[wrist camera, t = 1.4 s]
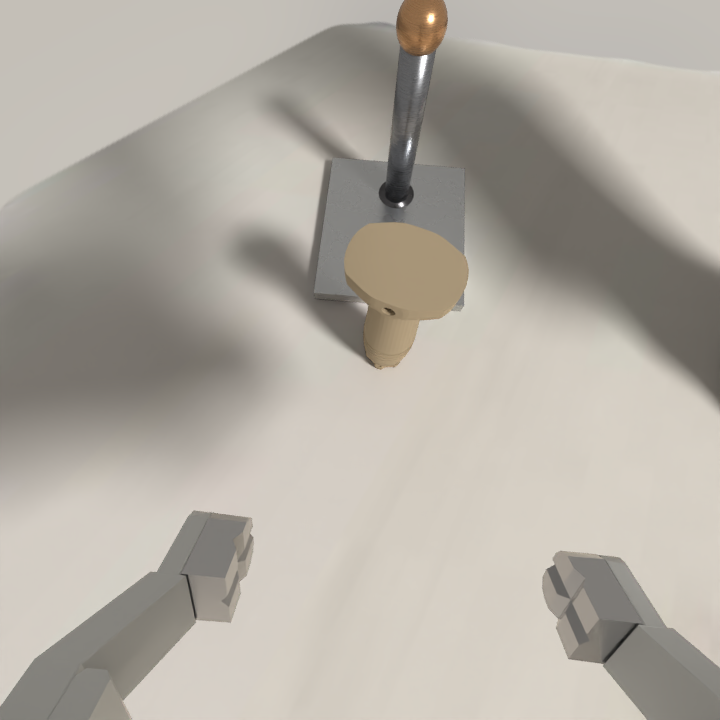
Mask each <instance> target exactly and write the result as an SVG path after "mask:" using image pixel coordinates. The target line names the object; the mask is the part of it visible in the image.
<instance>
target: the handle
mask: <svg viewBox="0 0 720 720" xmlns="http://www.w3.org/2000/svg"><path fill="white" fill-rule="evenodd" d="M344 269H345V278H346V282H347V285H348V286H349V287H350V288H351V289H352V290H353V291H354V292H355V293H356V294H357V295H358V296H359V297H360V298H361V299H362V300H363V301H364V302H365V303H367V304H368V305H369V307H368V311H367V315H366V319H365V324H364V331H363V340H364V347H365V352H366V356H367V357H368V358H370V360H371V361H372V362H373V363H374V366H375V368H377V369H380V370H381V369H383V368H385V367H395V366H397V365H398V364H399V363H400V361H401V360H402V359H403V358H404V357H405V356H406V354H407V353H408V351H409V350H410V348H411V346H412V344H413V342H414V339H415V336H416V332H417V328H418V325H419V321H420V320H431V319H439V318H442V317H443V316H445V315H446V314H447V313H448V312H450V311H451V310H452V309H453V307H454V306H455V305H456V303H457V302H458V300H459V299H460V297H461V296H462V294H463V292H464V289H465V287H466V284H467V280H468V271H469V269H468V264H467V260H466V257H465V256H464V255H463V254H462V253H461V252H460V251H458V250H457V249H456V248H455V247H454V246H453V245H452V244H450V243H449V242H448V241H447V240H446V239H444V238H443V237H441V236H440V235H438V234H436V233H434V232H431V231H429V230H426V229H423V228H420V227H417V226H414V225H410V224H406V223H398V222H387V223H369V224H367V225H366V226H364V227H363V228H361V229H360V230H359V231H357V233H356V234H355V235H354V236H353V237H352V239H351V241H350V243H349V244H348V247H347V249H346V252H345V257H344Z"/></svg>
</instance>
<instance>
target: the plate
mask: <svg viewBox="0 0 720 720" xmlns="http://www.w3.org/2000/svg"><path fill="white" fill-rule="evenodd" d="M387 166H388V162H381V161H369V160H357V159H345V158H333V160H332V167H331V174H330V181H329V188H328V195H327V202H326V209H325V216H324V223H323V230H322V237H321V244H320V251H319V258H318V265H317V272H316V279H315V286H314V297H315V299H326V300H337V301H349V302H360V303H365V302H364V301H363V300H362V299H361V298H360V297H359V296H358V295H357V294H356V293H355V292H354V291H353V290H352V289H351V288H350V287H349V286H348V285H347V282H346V278H345V269H344V257H345V252H346V249H347V247H348V244H349V243H350V241H351V239H352V237H353V236H354V235H355V234H356V233H357V231H359V230H360V229H361V228H363V227H364V226H366V225H367V224H369V223H387V222H398V223H406V224H410V225H414V226H417V227H420V228H423V229H426V230H429V231H431V232H434V233H436V234H438V235H440V236H441V237H443V238H444V239H446V240H447V241H448V242H449V243H450V244H452V245H453V246H454V247H455V248H456V249H457V250H458V251H460V252H461V253H462V254H463V255H464V192H465V168H454V167H442V166H430V165H418V164H414V166H413V171H412V177H411V182H410V187H409V192H408V197H407V198H406V200H404V201H403V202H400V203H394V202H391V201H389V200H388V199H387V198H386V196H385V185H386V175H387ZM463 306H464V292H463V294H462V296H461V297H460V299H459V300H458V302H457V303H456V305H455V306H454V307H453V309H452V310H451V311H461V309H462V308H463Z"/></svg>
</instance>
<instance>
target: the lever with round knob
mask: <svg viewBox="0 0 720 720" xmlns="http://www.w3.org/2000/svg"><path fill="white" fill-rule="evenodd" d="M447 21H448V18H447V9H446V5H445V3H444V1H443V0H404V2H403V3H402V5H401V7H400V10H399V12H398V16H397V23H396V31H397V37H398V40H399V43H400V53H399V63H398V72H397V82H396V91H395V100H394V110H393V119H392V128H391V138H390V147H389V157H388V166H387V175H386V185H385V196H386V198H387V199H388V200H389V201H391V202H394V203H400V202H403V201H404V200H406V198H407V197H408V192H409V187H410V182H411V177H412V171H413V166H414V161H415V156H416V151H417V146H418V140H419V135H420V130H421V125H422V120H423V115H424V109H425V104H426V99H427V94H428V89H429V83H430V78H431V73H432V68H433V63H434V58H435V52H436V49H437V48H438V46H439V45H440V44H441V42H442V40H443V38H444V35H445V32H446V29H447Z"/></svg>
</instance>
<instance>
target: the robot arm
mask: <svg viewBox="0 0 720 720" xmlns="http://www.w3.org/2000/svg"><path fill="white" fill-rule="evenodd" d="M252 527H253V524H252V518H249V517H241V516H234V515H226V514H218V513H211V512H202V511H193V512H192V513H191V514H190V515H189V516H188V518H187V519H186V521H185V523H184V525H183V526H182V528H181V530H180V532H179V534H178V535H177V537H176V539H175V541H174V542H173V544H172V546H171V548H170V550H169V551H168V553H167V555H166V557H165V558H164V560H163V562H162V564H161V565H160V567H159V569H158V571H157V572H150V573H148V574H147V575H146V576H144V577H143V578H142V579H140V580H139V581H138V582H136V583H135V584H134V585H132V586H131V587H130V588H128V589H127V590H126V591H124V592H123V593H122V594H120V595H119V596H118V597H116V598H115V599H114V600H112V601H111V602H110V603H108V604H107V605H106V606H104V607H103V608H102V609H100V610H99V611H98V612H97V613H95V614H94V615H93V616H91V617H90V618H89V619H87V620H86V621H85V622H83V623H82V624H81V625H79V626H78V627H77V628H75V629H74V630H73V631H71V632H70V633H69V634H67V635H66V636H65V637H63V638H62V639H61V640H59V641H58V642H57V643H55V644H54V645H53V646H51V647H50V648H49V649H47V650H46V651H45V652H43V653H42V654H41V655H39V656H38V657H37V658H36V659H34V661H33V662H32V663H31V665H30V666H29V668H28V669H27V670H26V672H25V673H24V674H23V676H22V677H21V679H20V680H19V681H18V683H17V684H16V686H15V687H14V688H13V690H12V691H11V693H10V694H9V695H8V697H7V698H6V700H5V701H4V702H3V704H2V705H1V707H0V720H132V718H131V716H130V714H129V712H128V710H127V708H126V706H125V704H124V702H123V700H124V699H125V698H126V697H127V696H128V695H129V694H130V693H131V691H132V690H133V689H134V688H135V687H136V686H137V685H138V684H139V683H140V682H141V681H142V680H143V679H144V677H145V676H146V675H147V674H148V673H149V672H150V671H151V670H152V669H153V668H154V667H155V666H156V665H157V664H158V662H159V661H160V660H161V659H162V658H163V657H164V656H165V655H166V654H167V653H168V652H169V651H170V650H171V648H172V647H173V646H174V645H175V644H176V643H177V642H178V641H179V640H180V639H181V638H182V637H183V636H184V635H185V633H186V632H187V631H188V630H189V629H190V628H191V627H192V626H193V625H194V624H195V623H196V620H205V621H218V622H231V621H232V618H233V615H234V612H235V609H236V606H237V603H238V600H239V597H240V594H241V593H240V581H241V580H242V579H243V578H244V577H246V576H247V573H248V569H249V566H250V563H251V558H252V553H253V545H254V541H253V536H252V535H251V534H250V532H251V529H252ZM553 561H554V563H555V565H553V566H552V567H550V568H548V569H546V571H545V573H544V575H543V582H542V589H543V594H544V598H545V601H546V603H547V606H548V608H549V610H550V611H551V612H552V613H553V614H554V615H555V616H556V617H557V618H558V622H557V626H556V629H557V632H558V634H559V637H560V639H561V642H562V644H563V647H564V649H565V652H566V654H567V657H568V659H572V660H579V661H587V662H594V663H601V664H604V665H603V667H604V668H605V669H606V670H607V671H608V673H609V674H610V675H611V676H612V677H613V679H614V680H615V681H616V682H617V684H618V685H619V686H620V687H621V688H622V690H623V691H624V692H625V693H626V694H627V696H628V697H629V698H630V699H631V700H632V702H633V703H634V704H635V705H636V707H637V708H638V709H639V710H640V711H641V713H642V714H643V715H644V716H645V717H646V719H647V720H720V668H719V667H718V666H717V665H716V664H714V663H713V662H712V661H711V660H710V659H709V658H707V657H706V656H705V655H704V654H703V653H701V652H700V651H699V650H698V649H697V648H696V647H694V646H693V645H692V644H691V643H690V642H688V641H687V640H686V639H685V638H684V637H683V636H681V635H680V634H679V633H678V632H677V631H676V630H674V629H673V628H667V627H666V625H665V624H664V622H663V621H662V619H661V618H660V616H659V614H658V613H657V611H656V610H655V608H654V607H653V605H652V604H651V602H650V600H649V599H648V597H647V596H646V594H645V593H644V591H643V590H642V588H641V586H640V585H639V583H638V582H637V580H636V579H635V577H634V576H633V574H632V572H631V571H630V569H629V568H628V566H627V565H626V563H625V562H624V561H623V560H622V559H620V558H619V557H614V556H602V555H597V554H589V553H578V552H567V551H559V552H557V553H556V554H555V555H554V557H553Z"/></svg>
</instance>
